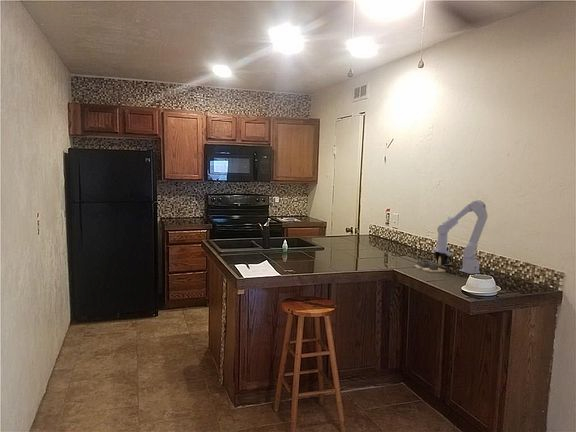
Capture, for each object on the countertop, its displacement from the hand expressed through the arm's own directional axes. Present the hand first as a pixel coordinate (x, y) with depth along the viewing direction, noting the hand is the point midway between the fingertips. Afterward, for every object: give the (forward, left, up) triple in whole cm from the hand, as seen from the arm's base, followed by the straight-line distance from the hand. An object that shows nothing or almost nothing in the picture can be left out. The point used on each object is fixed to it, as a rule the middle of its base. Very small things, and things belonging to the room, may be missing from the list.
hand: (440, 264), depth 283 cm
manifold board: (-2, +10, -2) cm, 11 cm away
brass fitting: (0, 0, -2) cm, 2 cm away
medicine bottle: (+9, -10, -2) cm, 13 cm away
